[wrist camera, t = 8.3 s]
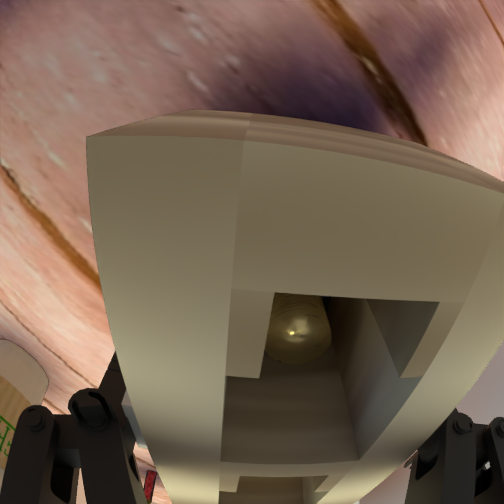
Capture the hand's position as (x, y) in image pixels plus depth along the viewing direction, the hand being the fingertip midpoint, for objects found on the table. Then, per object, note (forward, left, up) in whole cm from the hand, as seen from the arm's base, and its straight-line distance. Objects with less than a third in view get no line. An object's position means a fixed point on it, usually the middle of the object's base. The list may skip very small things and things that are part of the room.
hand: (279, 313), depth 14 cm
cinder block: (0, 0, 0) cm, 0 cm away
